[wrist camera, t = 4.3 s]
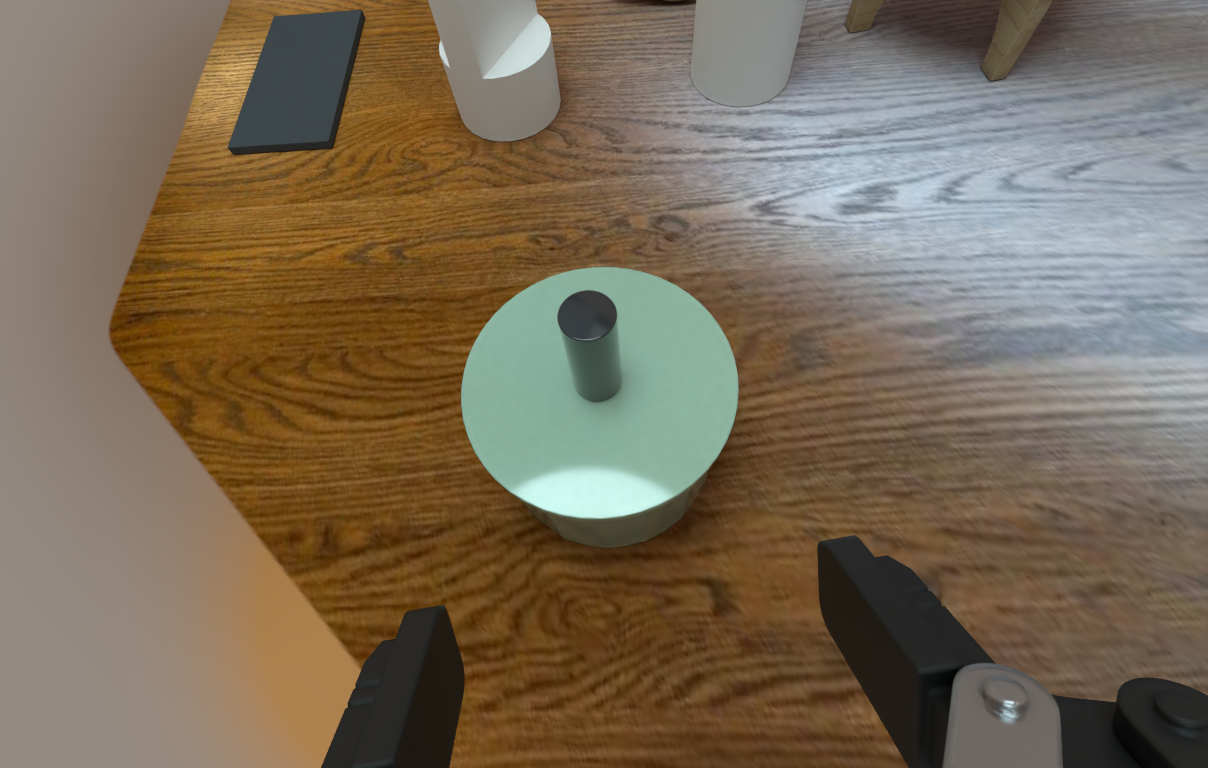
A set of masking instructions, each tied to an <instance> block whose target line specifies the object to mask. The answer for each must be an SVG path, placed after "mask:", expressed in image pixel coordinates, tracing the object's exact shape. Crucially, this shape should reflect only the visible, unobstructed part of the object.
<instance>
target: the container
mask: <svg viewBox="0 0 1208 768" xmlns="http://www.w3.org/2000/svg"><path fill="white" fill-rule="evenodd" d="M807 1H808V0H696V11H695V23H694V36H693V49H692V62H691V79H692V82H693V84H694V86H695V87H696V89H697V90H698V91H699V92H700V93H701V94H702V95H703V96H705V97H706V98H708V99H710V100H712V101H714V102H717V103H719V104H723V105H728V106H737V107H742V106H752V105H758V104H761V103H764V102H767V101H769V100H770V99H772V98H774V97H776V96H777V95H778V94H779V93H780V92H781V91H782V90H783V89H784V88H785V86H786V84H787V82H788V78H789V74H790V70H791V66H792V62H793V58H794V54H795V50H796V46H797V42H798V38H799V34H800V30H801V26H802V22H803V18H804V14H805V10H806V5H807Z"/></svg>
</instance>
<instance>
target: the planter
mask: <svg viewBox="0 0 1208 768" xmlns="http://www.w3.org/2000/svg"><path fill="white" fill-rule="evenodd" d="M884 1H885V0H852V3H851V6H850V9H849V13H848V16H847V19H846V22H845V25H846V26H847V28H848V30H849V32H850V33H852V32H857V31H863V30H869V29H870V28H871V25H872V23H873V20H874V18H875V16H876V14H877V12H878V11H879V9H880V7H881V6H882V4H883V3H884ZM1052 2H1053V0H1001V4H1000V11H999V17H998V21H997V25H996V29H995V32H994V36H993V39H992V42H991V45H990V48H989V50H988V53H987V55H986V57H985V59H984V61H983V63H982V65H981V68H982V70H983V71H984V73H985V74H986V75H987V77H988V78H989V80H990V81H993V80H998V79H1004V78H1006V77H1007V75H1008V73H1009V72H1010V70H1011V68H1012V67H1013V65H1014V64H1015V62H1016V60H1017V59H1018V57H1019V55H1020V54H1021V52H1022V51H1023V49H1024V47H1025V46H1026V44H1027V42H1028V41H1029V39H1030V38H1031V36H1032V34H1033V33H1034V31H1035V29H1036V28H1037V26H1038V25H1039V23H1040V21H1041V20H1042V18H1043V17H1044V15H1045V13H1046V12H1047V10H1048V8H1049V7H1050V5H1051V4H1052Z"/></svg>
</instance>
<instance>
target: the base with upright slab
mask: <svg viewBox="0 0 1208 768" xmlns="http://www.w3.org/2000/svg"><path fill="white" fill-rule="evenodd" d="M428 2H429V5H430V8H431V11H432V14H433V17H434V20H435V23H436V26H437V29H438V32H439V35H440V38H441V41H440V44H439V49H440V56H441V59H442V62H443V65H444V68H445V71H446V74H447V77H448V80H449V83H450V86H451V89H452V92H453V95H454V98H455V101H456V104H457V107H458V110H459V113H460V116H461V118H462V120H463V122H464V124H465V126H466V127H467V128H468V129H469V130H470V131H471V132H472V133H473V134H475V135H477V136H479V137H481V138H483V139H488V140H492V141H515V140H520V139H524V138H527V137H529V136H532V135H535V134H537V133H538V132H540V131H541V130H543V129H544V128H546V127H547V126H548V125H549V124H550V123H551V122H552V121H553V120H554V119H555V117H556V115H557V113H558V111H559V109H560V102H561V98H560V92H559V85H558V78H557V71H556V65H555V58H554V51H553V45H552V38H551V33H550V28H549V25H548V24H547V22H546V21H545V19H544V18H543V17H542V16H540V15H539V14H537V8H536V2H535V0H428Z"/></svg>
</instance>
